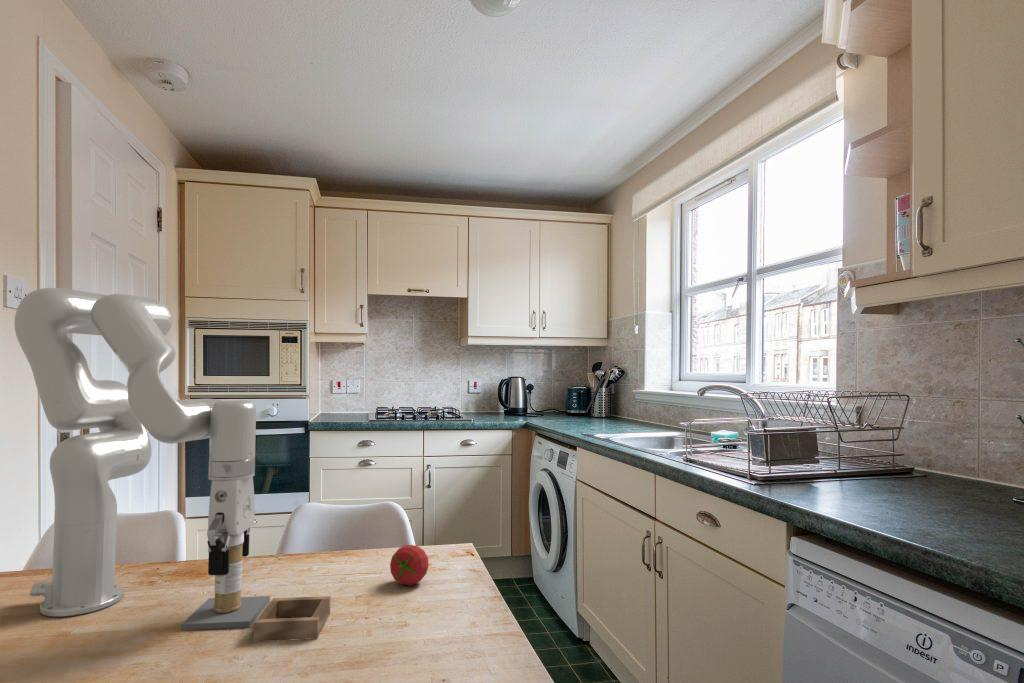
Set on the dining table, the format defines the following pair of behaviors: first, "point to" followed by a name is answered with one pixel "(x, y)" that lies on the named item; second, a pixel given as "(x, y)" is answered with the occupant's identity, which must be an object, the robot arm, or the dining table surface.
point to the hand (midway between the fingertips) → (229, 564)
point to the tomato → (409, 565)
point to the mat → (226, 615)
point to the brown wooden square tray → (292, 628)
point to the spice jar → (230, 579)
